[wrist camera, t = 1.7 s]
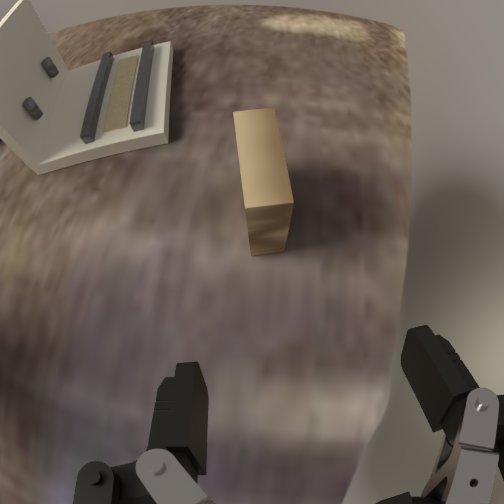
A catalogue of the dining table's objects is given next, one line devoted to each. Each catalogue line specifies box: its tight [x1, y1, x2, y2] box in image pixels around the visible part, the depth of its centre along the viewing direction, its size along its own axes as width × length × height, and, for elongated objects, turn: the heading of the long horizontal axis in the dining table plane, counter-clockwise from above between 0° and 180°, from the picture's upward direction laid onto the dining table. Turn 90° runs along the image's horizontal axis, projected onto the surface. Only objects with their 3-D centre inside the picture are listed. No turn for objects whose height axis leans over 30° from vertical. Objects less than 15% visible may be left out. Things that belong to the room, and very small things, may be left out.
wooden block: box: [233, 108, 294, 256], centre depth 26 cm, size 3×9×10 cm, turn 7°
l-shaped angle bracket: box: [0, 0, 173, 175], centre depth 27 cm, size 18×18×18 cm
